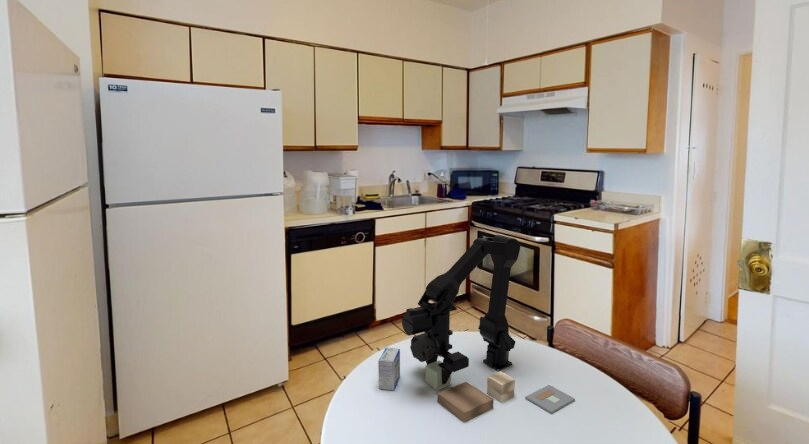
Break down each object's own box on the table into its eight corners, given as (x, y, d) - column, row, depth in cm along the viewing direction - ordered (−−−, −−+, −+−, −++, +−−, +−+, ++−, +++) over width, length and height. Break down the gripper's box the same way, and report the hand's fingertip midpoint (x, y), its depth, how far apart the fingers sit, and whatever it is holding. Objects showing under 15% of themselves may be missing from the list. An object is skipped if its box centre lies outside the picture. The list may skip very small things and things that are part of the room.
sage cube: (439, 376, 122) (439, 360, 121) (450, 384, 118) (451, 367, 117) (425, 381, 119) (425, 365, 118) (436, 390, 115) (437, 373, 114)
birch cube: (499, 387, 116) (500, 371, 115) (513, 396, 112) (514, 379, 111) (486, 393, 113) (487, 376, 112) (501, 402, 109) (501, 385, 108)
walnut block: (465, 391, 115) (466, 381, 114) (493, 409, 107) (493, 399, 106) (437, 403, 109) (437, 393, 109) (463, 424, 101) (464, 412, 101)
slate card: (548, 386, 117) (548, 384, 116) (574, 400, 110) (575, 398, 110) (525, 398, 111) (525, 396, 111) (551, 414, 104) (551, 411, 104)
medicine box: (394, 391, 114) (394, 361, 113) (378, 389, 115) (378, 359, 114) (400, 376, 122) (400, 348, 120) (385, 374, 123) (385, 346, 121)
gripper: (395, 322, 118) (395, 373, 121) (438, 347, 103) (437, 405, 106) (426, 313, 125) (426, 362, 127) (471, 336, 110) (469, 391, 112)
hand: (438, 379), depth 118 cm, fingers closed on sage cube, 5 cm apart
